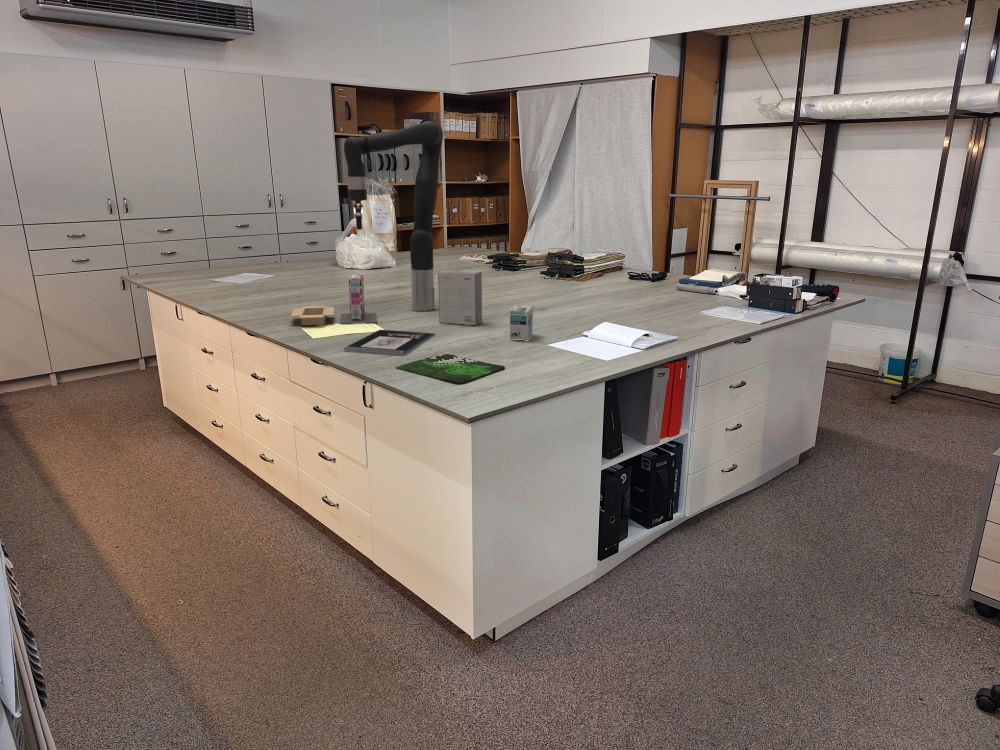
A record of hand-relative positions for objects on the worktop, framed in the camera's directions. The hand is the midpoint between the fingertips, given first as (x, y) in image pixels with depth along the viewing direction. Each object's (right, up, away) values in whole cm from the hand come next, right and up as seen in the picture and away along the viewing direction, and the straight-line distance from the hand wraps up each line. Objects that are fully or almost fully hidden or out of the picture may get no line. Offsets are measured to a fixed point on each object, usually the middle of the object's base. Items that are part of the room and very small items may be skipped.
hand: (359, 228), depth 282 cm
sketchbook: (+21, -51, -50) cm, 74 cm away
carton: (-14, -40, -19) cm, 47 cm away
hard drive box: (+43, -41, -19) cm, 63 cm away
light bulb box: (+66, -48, -41) cm, 91 cm away
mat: (+3, -39, -14) cm, 42 cm away
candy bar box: (+2, -39, -14) cm, 41 cm away
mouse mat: (+44, -60, -78) cm, 108 cm away
